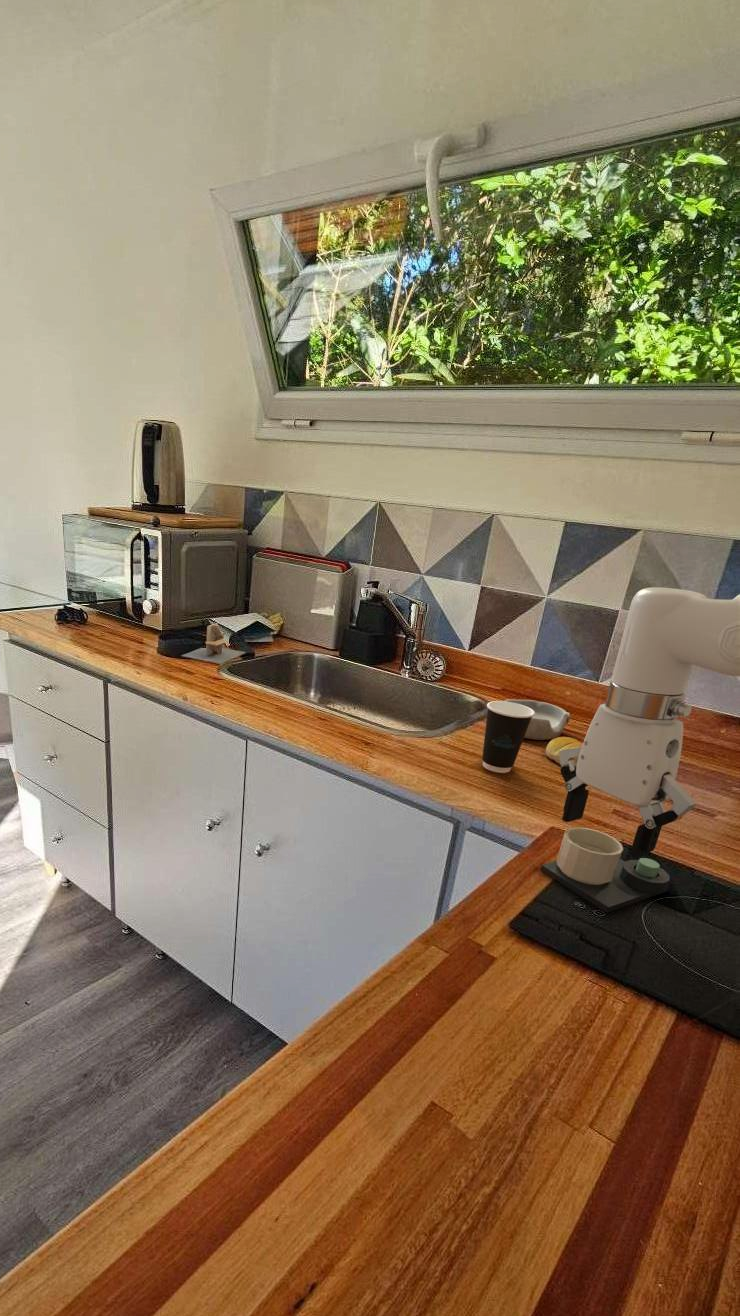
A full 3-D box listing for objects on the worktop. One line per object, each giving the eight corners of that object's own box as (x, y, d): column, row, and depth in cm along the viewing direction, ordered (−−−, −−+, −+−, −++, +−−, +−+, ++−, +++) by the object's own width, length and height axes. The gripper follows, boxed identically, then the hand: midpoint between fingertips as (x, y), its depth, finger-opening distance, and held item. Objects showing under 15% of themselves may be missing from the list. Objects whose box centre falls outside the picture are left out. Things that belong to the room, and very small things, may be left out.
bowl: (578, 854, 89) (588, 823, 87) (623, 880, 84) (634, 848, 82) (544, 863, 86) (553, 832, 84) (588, 891, 81) (599, 859, 79)
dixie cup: (489, 777, 113) (504, 716, 108) (465, 759, 120) (478, 700, 115) (528, 775, 115) (544, 715, 111) (502, 757, 122) (516, 700, 118)
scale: (599, 853, 92) (604, 837, 91) (672, 894, 84) (678, 877, 83) (539, 870, 86) (544, 854, 85) (611, 916, 78) (617, 898, 77)
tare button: (642, 866, 85) (646, 856, 84) (660, 876, 83) (664, 865, 82) (631, 870, 84) (635, 859, 83) (648, 880, 82) (652, 869, 81)
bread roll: (570, 750, 130) (575, 731, 128) (601, 768, 122) (608, 748, 120) (534, 751, 127) (539, 731, 126) (564, 770, 119) (570, 749, 118)
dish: (567, 730, 141) (574, 708, 139) (555, 748, 130) (561, 724, 128) (500, 714, 147) (505, 692, 145) (482, 729, 136) (487, 706, 134)
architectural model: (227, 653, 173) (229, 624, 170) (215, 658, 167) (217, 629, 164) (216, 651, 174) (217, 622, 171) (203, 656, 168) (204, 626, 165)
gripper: (738, 721, 70) (689, 862, 77) (597, 680, 84) (566, 803, 91) (698, 729, 67) (650, 876, 73) (557, 685, 80) (528, 812, 87)
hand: (604, 836), depth 82 cm, fingers open, 9 cm apart
